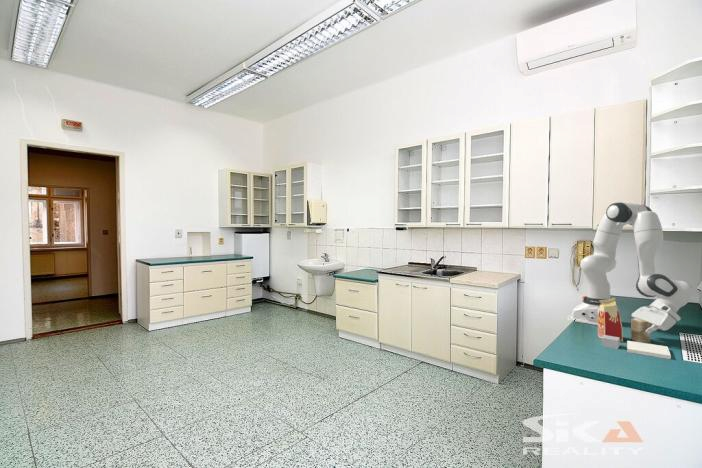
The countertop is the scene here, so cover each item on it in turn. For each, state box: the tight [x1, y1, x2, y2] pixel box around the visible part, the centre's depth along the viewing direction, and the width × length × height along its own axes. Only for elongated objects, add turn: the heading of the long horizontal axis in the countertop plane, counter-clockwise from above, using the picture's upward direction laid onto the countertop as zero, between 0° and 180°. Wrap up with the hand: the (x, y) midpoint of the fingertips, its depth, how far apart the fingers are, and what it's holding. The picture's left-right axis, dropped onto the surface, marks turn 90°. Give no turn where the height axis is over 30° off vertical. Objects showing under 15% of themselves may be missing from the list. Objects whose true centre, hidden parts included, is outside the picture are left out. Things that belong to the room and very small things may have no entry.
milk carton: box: [597, 297, 624, 342], centre depth 171 cm, size 9×9×20 cm
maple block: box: [630, 318, 651, 344], centre depth 166 cm, size 5×5×10 cm
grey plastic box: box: [601, 335, 621, 350], centre depth 160 cm, size 6×6×4 cm
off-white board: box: [626, 340, 672, 360], centre depth 153 cm, size 14×14×2 cm
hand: (639, 329), depth 166 cm, fingers open, 8 cm apart
